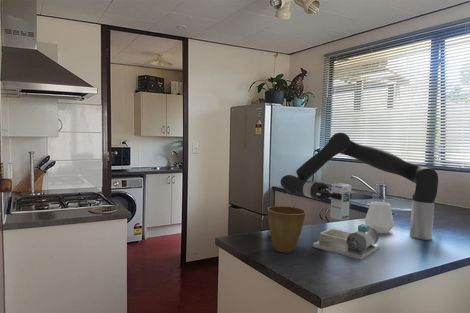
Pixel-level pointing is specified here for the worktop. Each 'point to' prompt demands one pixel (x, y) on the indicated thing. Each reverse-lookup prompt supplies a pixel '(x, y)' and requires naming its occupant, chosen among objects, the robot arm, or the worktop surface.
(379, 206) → the cup
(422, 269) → the worktop surface
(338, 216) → the syrup box
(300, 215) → the plant pot
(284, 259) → the worktop surface
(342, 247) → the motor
